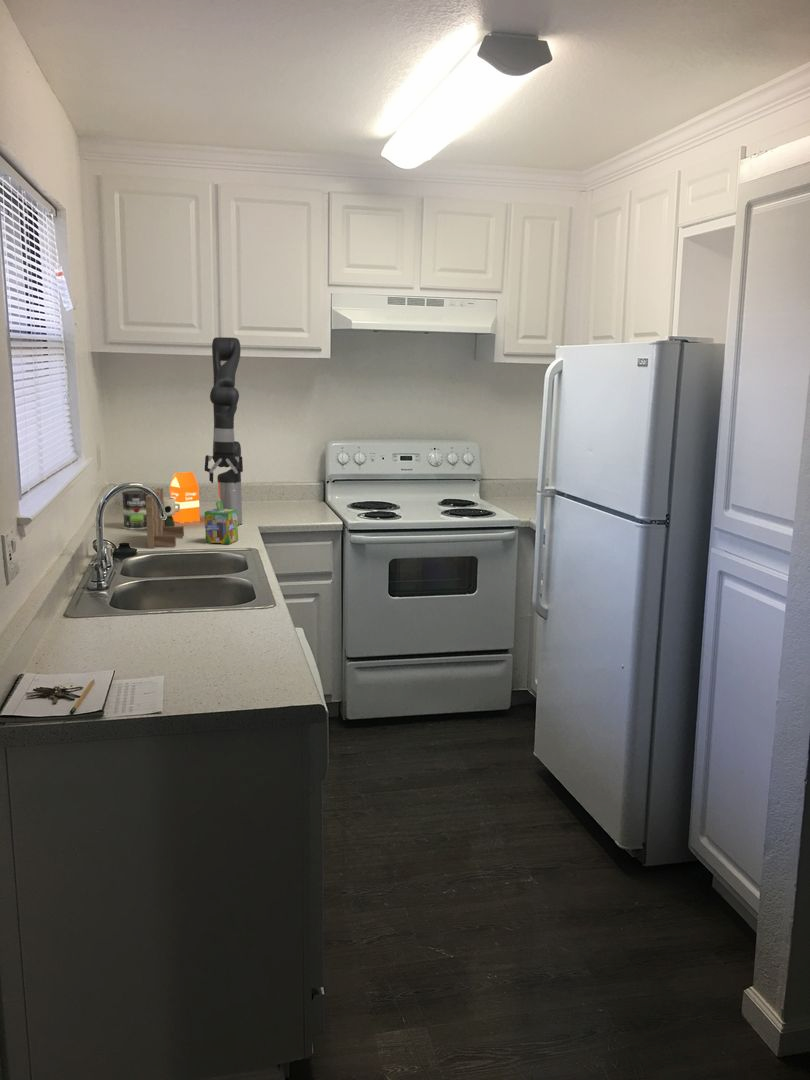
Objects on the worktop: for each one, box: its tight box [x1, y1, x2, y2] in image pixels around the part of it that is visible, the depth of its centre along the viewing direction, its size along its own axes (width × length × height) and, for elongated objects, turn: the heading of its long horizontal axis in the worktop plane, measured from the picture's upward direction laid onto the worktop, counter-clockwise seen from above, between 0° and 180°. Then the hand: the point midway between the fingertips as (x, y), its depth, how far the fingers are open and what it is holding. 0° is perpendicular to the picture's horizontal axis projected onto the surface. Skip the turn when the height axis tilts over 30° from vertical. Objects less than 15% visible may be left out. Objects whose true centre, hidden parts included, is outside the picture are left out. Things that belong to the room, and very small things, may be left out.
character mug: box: [164, 496, 180, 527], centre depth 327 cm, size 11×7×13 cm, turn 90°
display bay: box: [146, 487, 185, 549], centre depth 308 cm, size 22×9×18 cm, turn 5°
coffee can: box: [121, 489, 148, 531], centre depth 337 cm, size 10×10×14 cm
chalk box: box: [204, 500, 239, 545], centre depth 310 cm, size 9×9×15 cm
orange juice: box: [169, 471, 200, 524], centre depth 352 cm, size 8×9×20 cm
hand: (223, 483), depth 330 cm, fingers open, 8 cm apart
